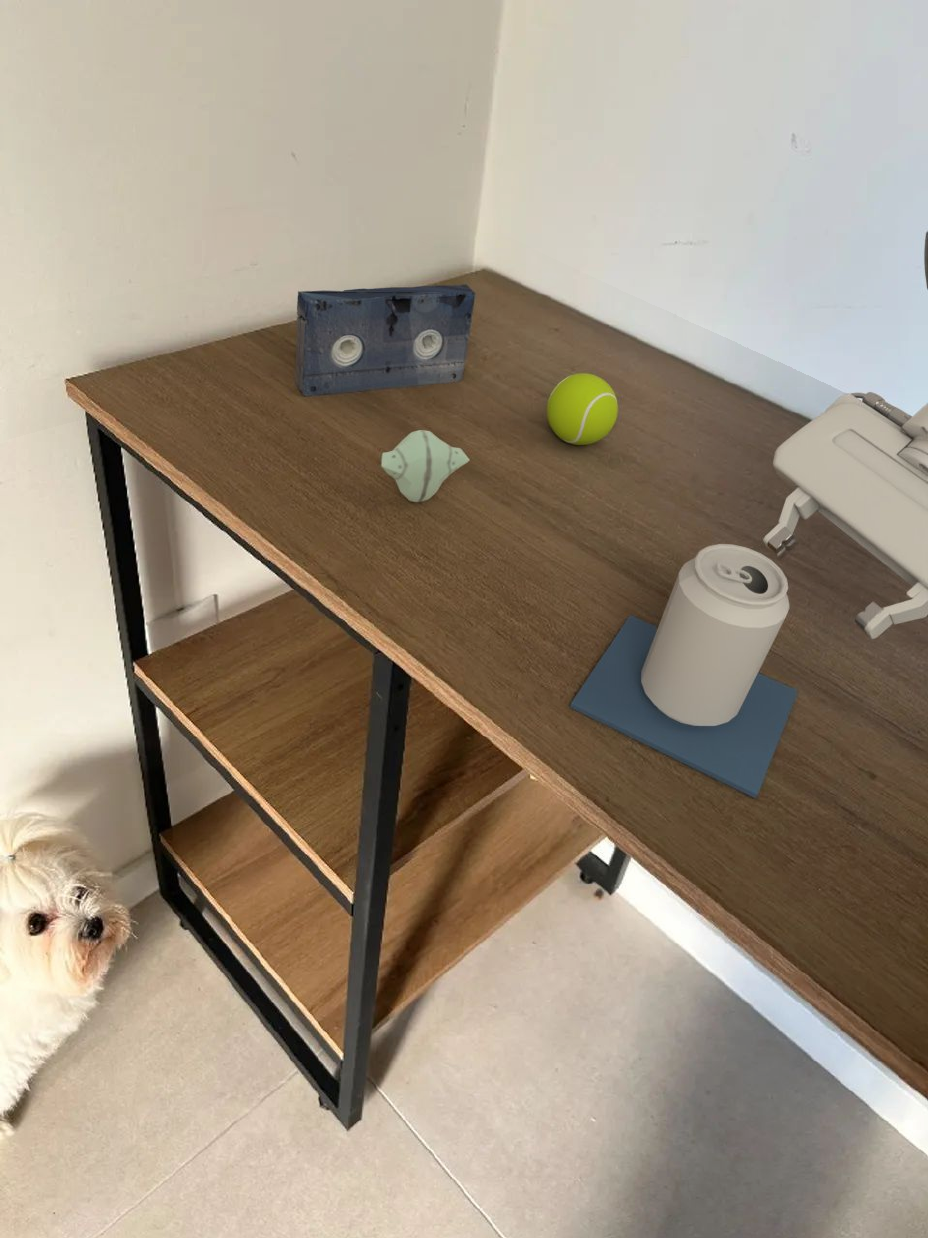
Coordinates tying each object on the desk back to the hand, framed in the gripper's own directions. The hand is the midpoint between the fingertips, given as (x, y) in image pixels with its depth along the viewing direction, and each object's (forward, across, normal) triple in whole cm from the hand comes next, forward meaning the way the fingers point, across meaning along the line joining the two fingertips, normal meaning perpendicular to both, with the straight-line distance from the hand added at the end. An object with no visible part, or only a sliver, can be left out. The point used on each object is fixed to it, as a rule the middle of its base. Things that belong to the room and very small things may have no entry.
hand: (814, 588), depth 67 cm
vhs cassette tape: (+14, -50, -1) cm, 51 cm away
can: (+12, 0, -1) cm, 12 cm away
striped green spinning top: (+18, -29, -6) cm, 35 cm away
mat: (+12, 0, 0) cm, 12 cm away
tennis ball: (+3, -34, +9) cm, 35 cm away
